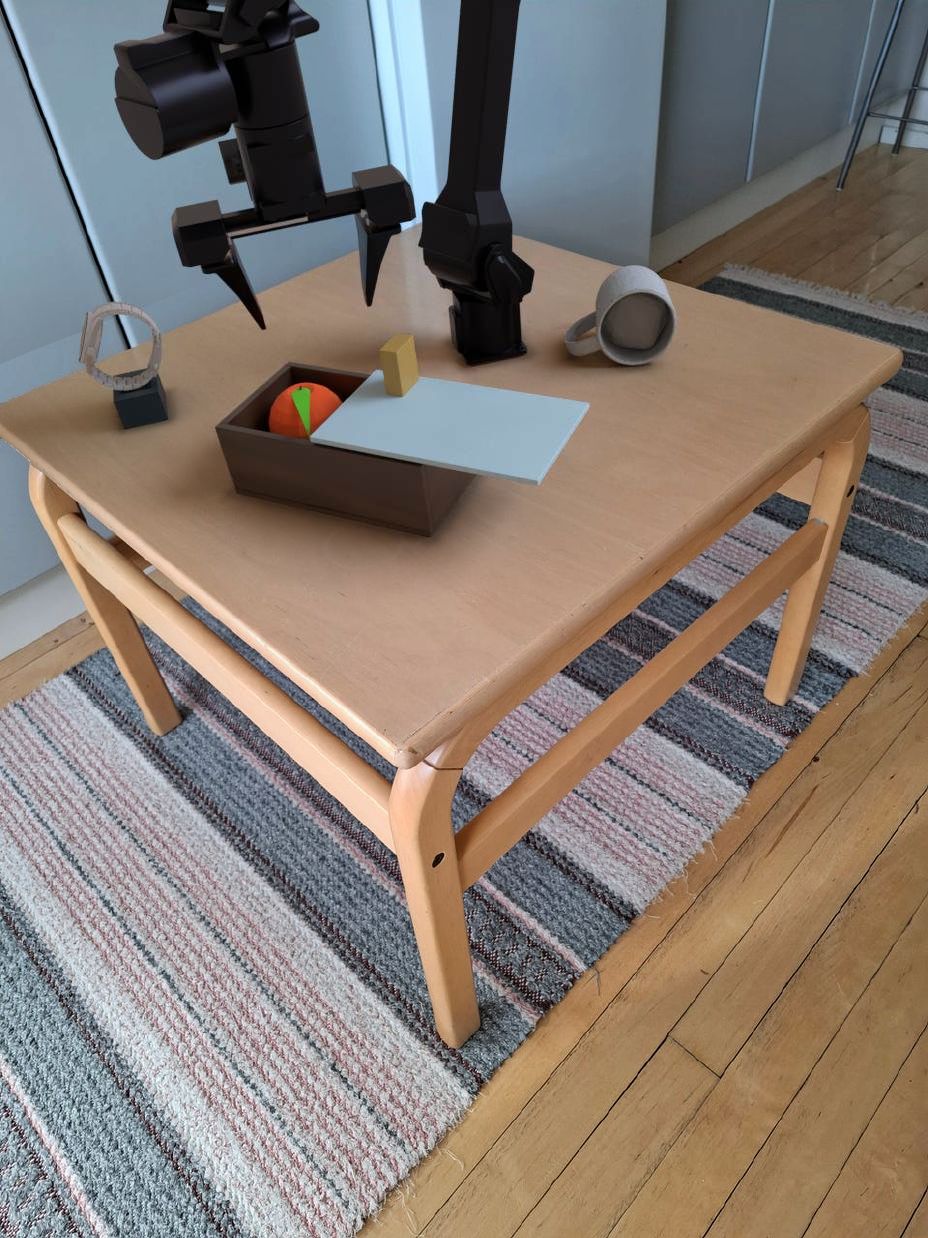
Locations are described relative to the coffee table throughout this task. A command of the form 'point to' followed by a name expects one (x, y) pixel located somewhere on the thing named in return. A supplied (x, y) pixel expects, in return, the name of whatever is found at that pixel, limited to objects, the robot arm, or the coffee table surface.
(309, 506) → the case
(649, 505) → the coffee table surface
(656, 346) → the ceramic mug
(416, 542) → the coffee table surface
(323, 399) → the clementine
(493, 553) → the coffee table surface
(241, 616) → the coffee table surface
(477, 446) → the lid
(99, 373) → the watch
